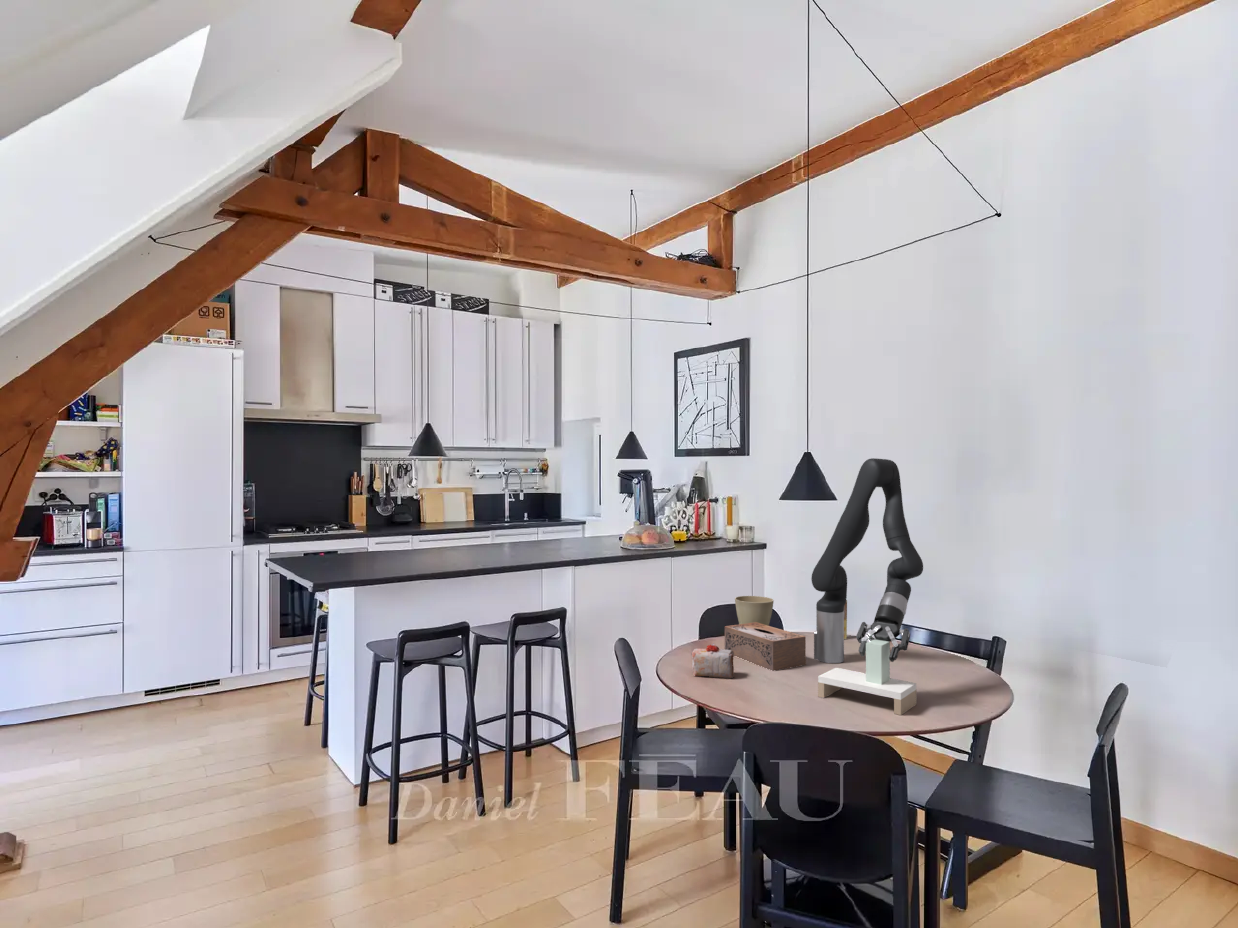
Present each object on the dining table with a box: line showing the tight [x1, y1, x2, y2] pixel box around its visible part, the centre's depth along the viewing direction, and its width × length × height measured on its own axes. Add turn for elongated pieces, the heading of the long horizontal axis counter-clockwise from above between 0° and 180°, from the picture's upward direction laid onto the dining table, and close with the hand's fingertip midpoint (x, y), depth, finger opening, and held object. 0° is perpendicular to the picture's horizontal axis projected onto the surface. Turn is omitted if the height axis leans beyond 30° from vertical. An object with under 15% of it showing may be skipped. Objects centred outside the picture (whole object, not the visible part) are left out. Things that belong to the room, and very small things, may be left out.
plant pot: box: [734, 595, 775, 626], centre depth 281 cm, size 15×15×16 cm
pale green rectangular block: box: [865, 639, 891, 685], centre depth 207 cm, size 4×6×11 cm
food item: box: [691, 643, 735, 679], centre depth 233 cm, size 14×8×10 cm, turn 77°
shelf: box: [817, 667, 917, 716], centre depth 208 cm, size 24×12×6 cm, turn 49°
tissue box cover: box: [724, 622, 807, 672], centre depth 253 cm, size 26×14×10 cm, turn 29°
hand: (876, 657), depth 206 cm, fingers open, 8 cm apart
